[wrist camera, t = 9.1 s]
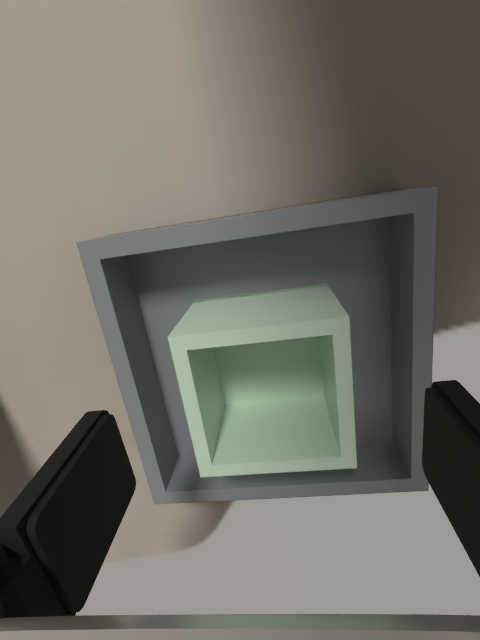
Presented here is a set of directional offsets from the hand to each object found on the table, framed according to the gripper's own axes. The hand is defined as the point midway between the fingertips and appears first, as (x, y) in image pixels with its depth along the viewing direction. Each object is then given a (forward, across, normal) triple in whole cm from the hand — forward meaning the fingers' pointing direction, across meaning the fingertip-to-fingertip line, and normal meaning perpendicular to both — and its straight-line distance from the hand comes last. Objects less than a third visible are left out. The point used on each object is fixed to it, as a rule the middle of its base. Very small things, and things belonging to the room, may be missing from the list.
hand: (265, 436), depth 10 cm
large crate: (+9, 0, +1) cm, 9 cm away
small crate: (+8, 0, +1) cm, 8 cm away
